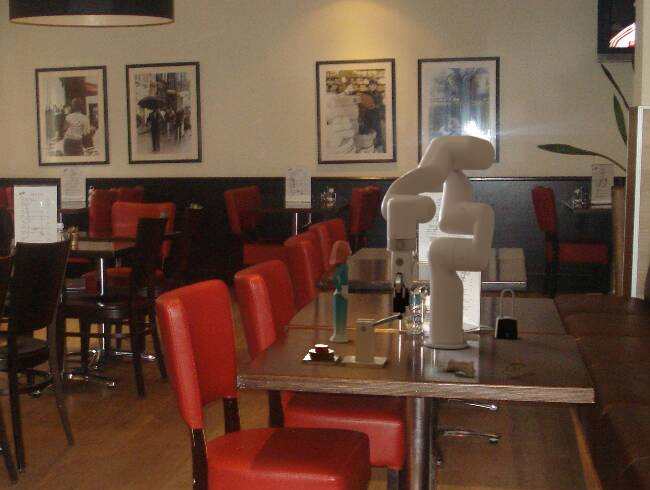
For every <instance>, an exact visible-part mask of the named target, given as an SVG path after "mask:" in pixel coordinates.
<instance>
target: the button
mask: <svg viewBox="0 0 650 490" xmlns="http://www.w3.org/2000/svg"><path fill="white" fill-rule="evenodd" d="M314 349H315V352H329V349H330V347H329V345H328V344H316V345H314Z"/></svg>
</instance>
